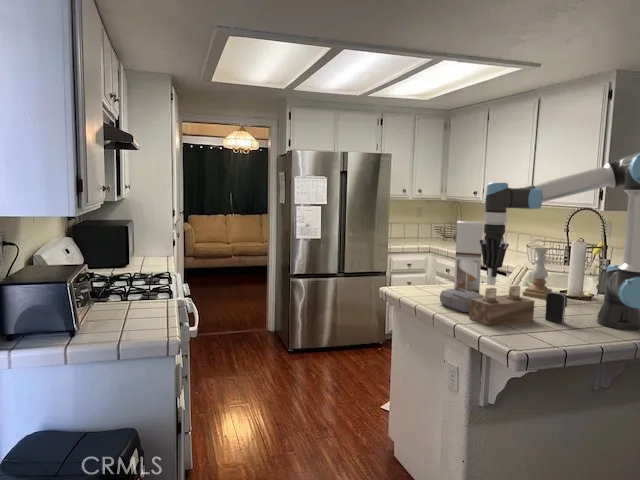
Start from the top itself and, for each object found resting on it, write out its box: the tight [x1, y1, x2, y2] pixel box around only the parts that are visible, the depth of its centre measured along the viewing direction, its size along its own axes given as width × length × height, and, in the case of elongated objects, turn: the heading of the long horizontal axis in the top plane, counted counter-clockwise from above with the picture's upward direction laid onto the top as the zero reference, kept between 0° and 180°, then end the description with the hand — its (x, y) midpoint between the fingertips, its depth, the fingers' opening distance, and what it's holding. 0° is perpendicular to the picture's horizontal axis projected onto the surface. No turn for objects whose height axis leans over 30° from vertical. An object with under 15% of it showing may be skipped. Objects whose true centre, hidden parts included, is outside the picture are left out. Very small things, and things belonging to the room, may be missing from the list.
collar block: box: [468, 294, 535, 327], centre depth 188 cm, size 11×22×8 cm, turn 113°
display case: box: [453, 220, 484, 294], centre depth 227 cm, size 11×11×35 cm
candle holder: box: [522, 244, 554, 300], centre depth 230 cm, size 11×11×24 cm
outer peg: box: [484, 286, 497, 303], centre depth 185 cm, size 4×4×6 cm
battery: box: [544, 291, 568, 324], centre depth 188 cm, size 7×4×11 cm, turn 37°
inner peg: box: [508, 284, 521, 300], centre depth 190 cm, size 4×4×6 cm
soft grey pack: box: [439, 287, 484, 313], centre depth 205 cm, size 15×8×20 cm
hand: (491, 284), depth 185 cm, fingers closed
